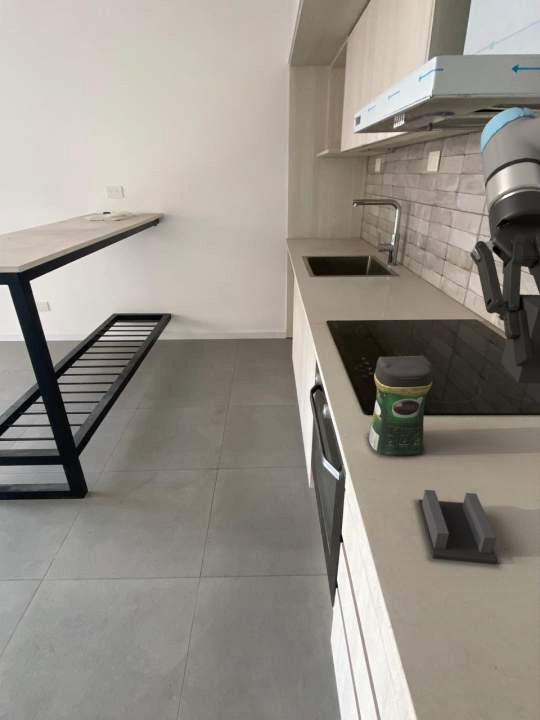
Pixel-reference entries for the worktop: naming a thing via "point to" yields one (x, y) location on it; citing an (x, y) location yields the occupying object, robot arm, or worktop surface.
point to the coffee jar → (400, 405)
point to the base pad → (457, 529)
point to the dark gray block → (536, 369)
